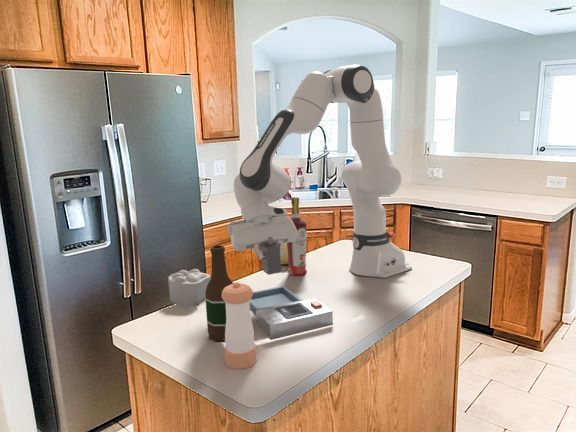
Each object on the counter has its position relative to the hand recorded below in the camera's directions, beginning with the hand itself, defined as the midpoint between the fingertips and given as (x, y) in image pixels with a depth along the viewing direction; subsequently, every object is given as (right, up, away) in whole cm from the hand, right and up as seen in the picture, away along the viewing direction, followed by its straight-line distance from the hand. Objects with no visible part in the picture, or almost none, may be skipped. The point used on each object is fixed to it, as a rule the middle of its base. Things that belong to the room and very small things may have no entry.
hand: (272, 257), depth 133 cm
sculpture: (+4, -6, +44) cm, 45 cm away
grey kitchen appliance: (+6, -17, -10) cm, 21 cm away
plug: (0, -4, +2) cm, 5 cm away
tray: (0, -15, +4) cm, 15 cm away
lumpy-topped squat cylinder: (-26, -14, +11) cm, 32 cm away
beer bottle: (-12, -19, -15) cm, 27 cm away
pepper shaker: (-6, -22, -27) cm, 35 cm away
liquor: (+8, -9, +29) cm, 31 cm away
